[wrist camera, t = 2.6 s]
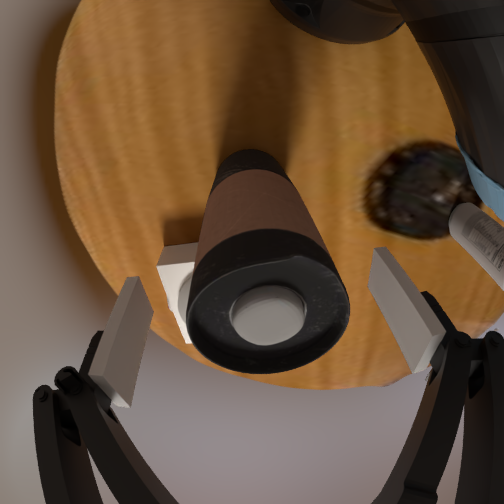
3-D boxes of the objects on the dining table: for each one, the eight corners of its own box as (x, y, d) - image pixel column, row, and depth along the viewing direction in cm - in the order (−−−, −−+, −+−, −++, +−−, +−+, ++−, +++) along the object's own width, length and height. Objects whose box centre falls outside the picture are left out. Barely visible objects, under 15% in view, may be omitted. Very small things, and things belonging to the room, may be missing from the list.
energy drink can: (448, 242, 34) (507, 308, 22) (443, 211, 32) (512, 276, 19) (474, 224, 33) (535, 282, 20) (471, 192, 30) (542, 248, 17)
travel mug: (227, 222, 31) (221, 385, 15) (202, 159, 27) (150, 288, 10) (293, 203, 30) (356, 353, 14) (275, 137, 26) (345, 233, 10)
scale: (159, 247, 33) (149, 271, 29) (273, 233, 32) (278, 256, 28) (185, 322, 40) (181, 348, 36) (278, 313, 39) (283, 339, 35)
